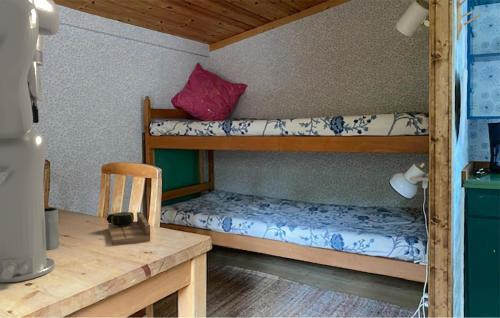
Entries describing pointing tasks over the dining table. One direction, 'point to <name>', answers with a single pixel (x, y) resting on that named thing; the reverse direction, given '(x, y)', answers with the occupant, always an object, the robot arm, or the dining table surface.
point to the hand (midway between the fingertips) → (29, 122)
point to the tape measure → (121, 218)
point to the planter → (51, 228)
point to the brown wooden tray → (130, 231)
